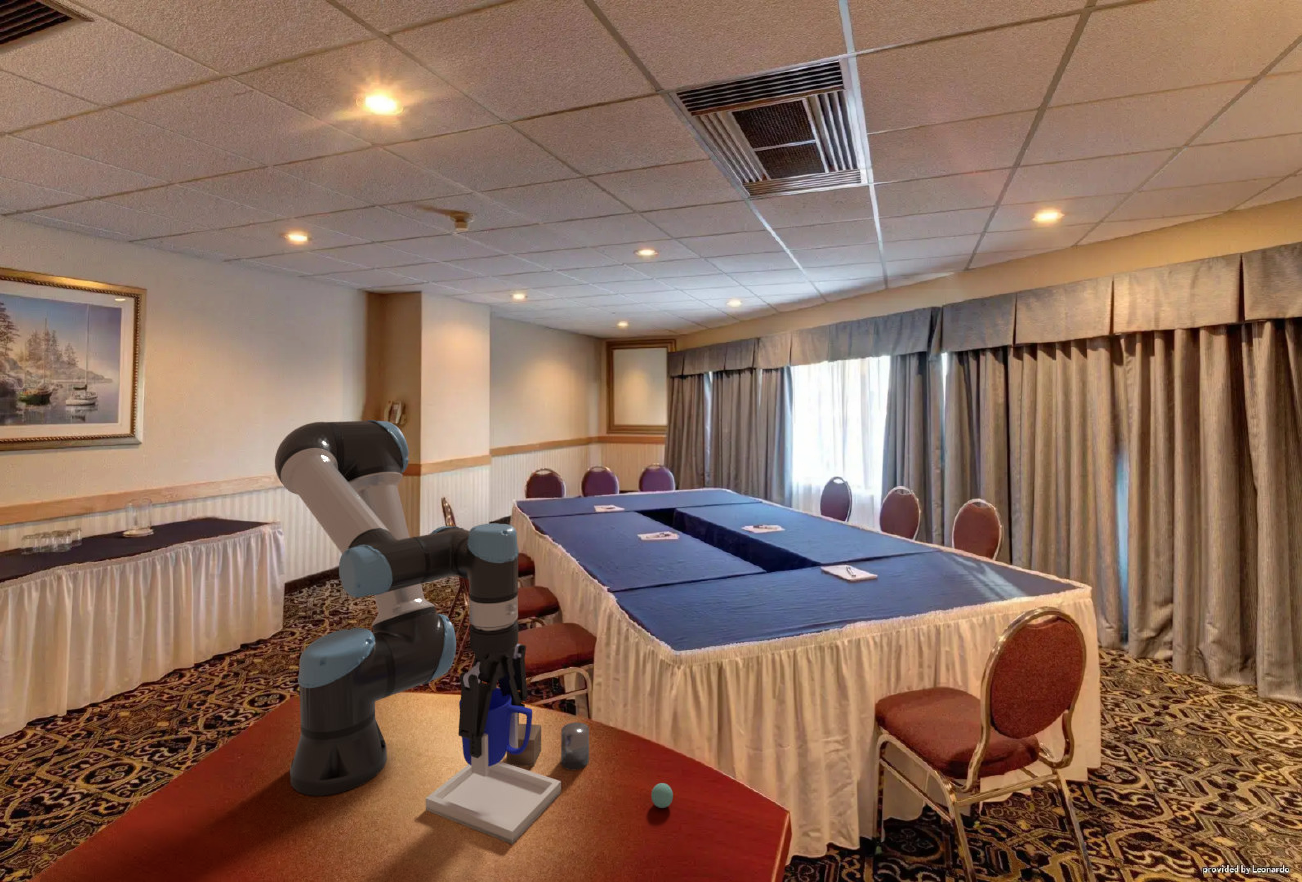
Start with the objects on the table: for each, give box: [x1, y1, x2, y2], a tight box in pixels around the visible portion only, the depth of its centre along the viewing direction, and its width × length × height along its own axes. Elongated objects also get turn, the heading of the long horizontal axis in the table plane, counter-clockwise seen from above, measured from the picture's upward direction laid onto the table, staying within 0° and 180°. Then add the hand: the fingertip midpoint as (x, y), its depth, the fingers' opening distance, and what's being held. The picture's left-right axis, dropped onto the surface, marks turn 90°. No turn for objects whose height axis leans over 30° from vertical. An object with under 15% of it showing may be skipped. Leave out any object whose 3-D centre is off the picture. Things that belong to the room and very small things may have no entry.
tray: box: [425, 760, 562, 845], centre depth 99 cm, size 17×13×2 cm
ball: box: [650, 782, 674, 809], centre depth 99 cm, size 4×4×4 cm
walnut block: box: [506, 723, 542, 767], centre depth 111 cm, size 5×5×5 cm
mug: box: [458, 687, 533, 767], centre depth 99 cm, size 8×12×10 cm
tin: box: [560, 722, 590, 771], centre depth 110 cm, size 5×5×6 cm
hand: (495, 760), depth 99 cm, fingers closed on mug, 7 cm apart
